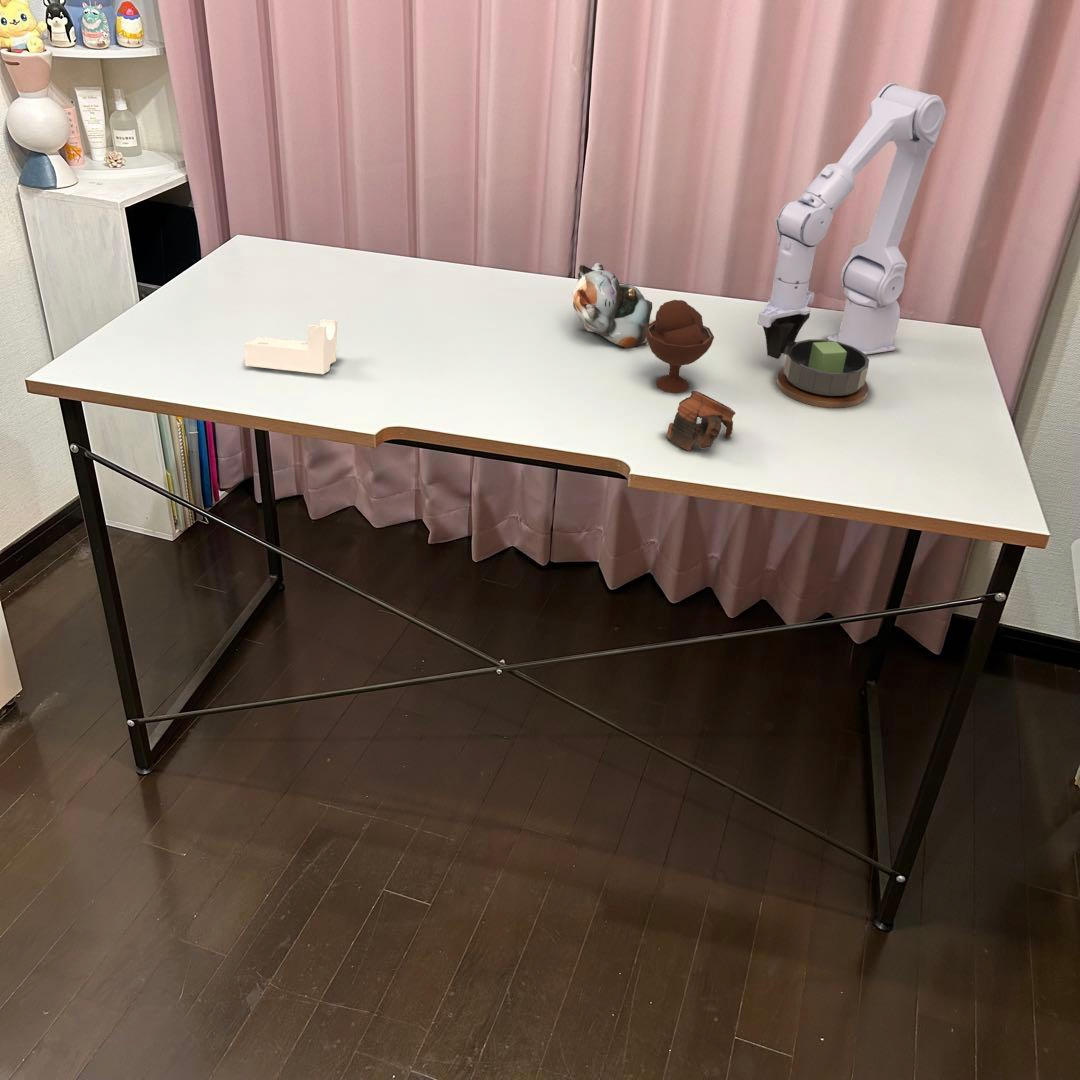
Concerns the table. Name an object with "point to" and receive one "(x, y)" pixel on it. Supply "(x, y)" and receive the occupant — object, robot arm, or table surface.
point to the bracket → (296, 350)
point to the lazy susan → (820, 399)
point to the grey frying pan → (822, 380)
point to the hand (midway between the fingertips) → (778, 353)
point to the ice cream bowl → (677, 341)
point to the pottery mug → (710, 426)
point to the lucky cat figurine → (611, 307)
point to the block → (827, 357)
